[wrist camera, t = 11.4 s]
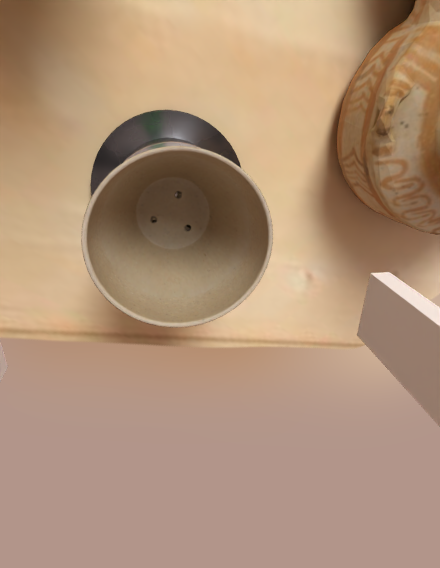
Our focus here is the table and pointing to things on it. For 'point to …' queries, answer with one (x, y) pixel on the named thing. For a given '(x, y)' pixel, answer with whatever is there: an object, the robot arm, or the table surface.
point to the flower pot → (177, 236)
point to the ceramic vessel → (397, 123)
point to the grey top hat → (157, 140)
